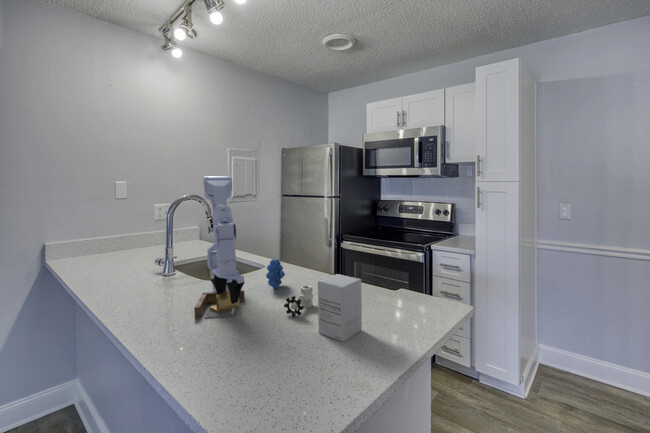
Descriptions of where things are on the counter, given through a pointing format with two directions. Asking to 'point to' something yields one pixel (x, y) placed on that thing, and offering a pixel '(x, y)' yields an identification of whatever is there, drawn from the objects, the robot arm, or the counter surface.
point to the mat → (218, 315)
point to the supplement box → (339, 306)
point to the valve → (300, 301)
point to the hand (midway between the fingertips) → (228, 300)
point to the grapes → (275, 273)
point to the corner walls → (207, 299)
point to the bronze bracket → (223, 303)
